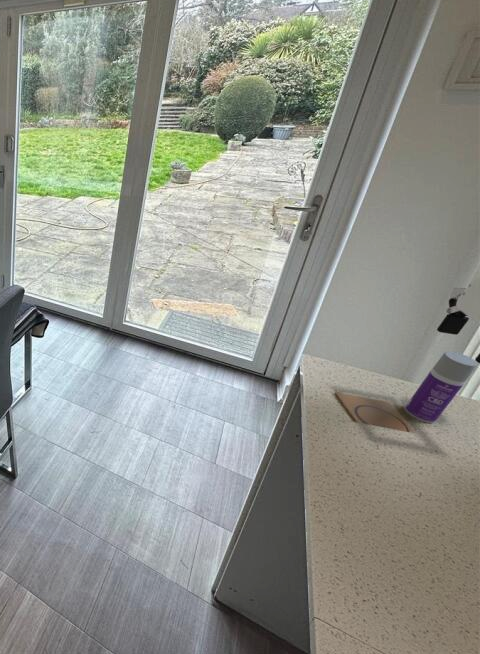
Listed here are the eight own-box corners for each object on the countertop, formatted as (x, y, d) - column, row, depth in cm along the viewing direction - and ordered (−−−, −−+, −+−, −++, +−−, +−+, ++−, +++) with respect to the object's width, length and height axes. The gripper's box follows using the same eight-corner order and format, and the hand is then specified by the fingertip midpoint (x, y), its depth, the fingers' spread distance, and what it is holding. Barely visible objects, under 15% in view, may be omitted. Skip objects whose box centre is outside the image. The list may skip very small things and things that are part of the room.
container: (414, 420, 84) (455, 363, 77) (398, 404, 88) (437, 349, 81) (441, 425, 83) (486, 368, 76) (424, 408, 87) (465, 353, 80)
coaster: (388, 403, 89) (389, 401, 88) (434, 456, 77) (435, 454, 76) (334, 393, 91) (335, 391, 91) (371, 443, 79) (372, 441, 79)
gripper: (608, 297, 62) (531, 381, 70) (509, 251, 77) (455, 325, 85) (545, 288, 63) (477, 372, 72) (460, 245, 78) (411, 319, 86)
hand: (465, 347), depth 78 cm, fingers open, 9 cm apart
